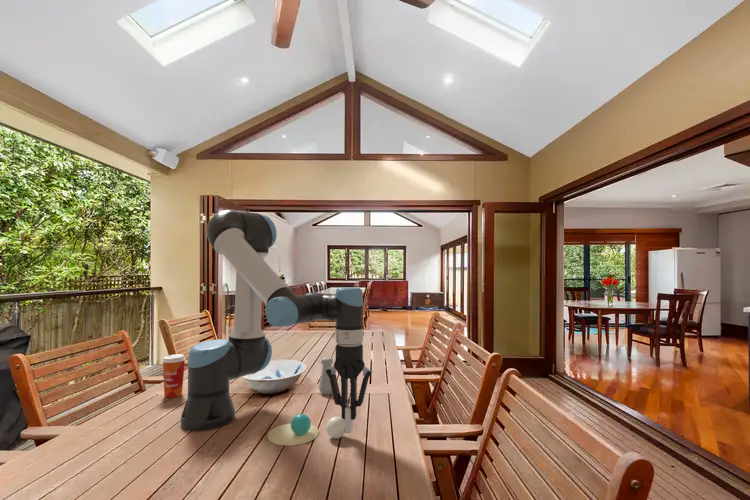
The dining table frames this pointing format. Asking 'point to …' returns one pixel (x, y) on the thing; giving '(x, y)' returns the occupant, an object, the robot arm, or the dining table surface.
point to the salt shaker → (325, 377)
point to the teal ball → (300, 424)
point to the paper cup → (173, 375)
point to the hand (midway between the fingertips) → (348, 430)
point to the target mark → (291, 435)
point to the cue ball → (336, 427)
